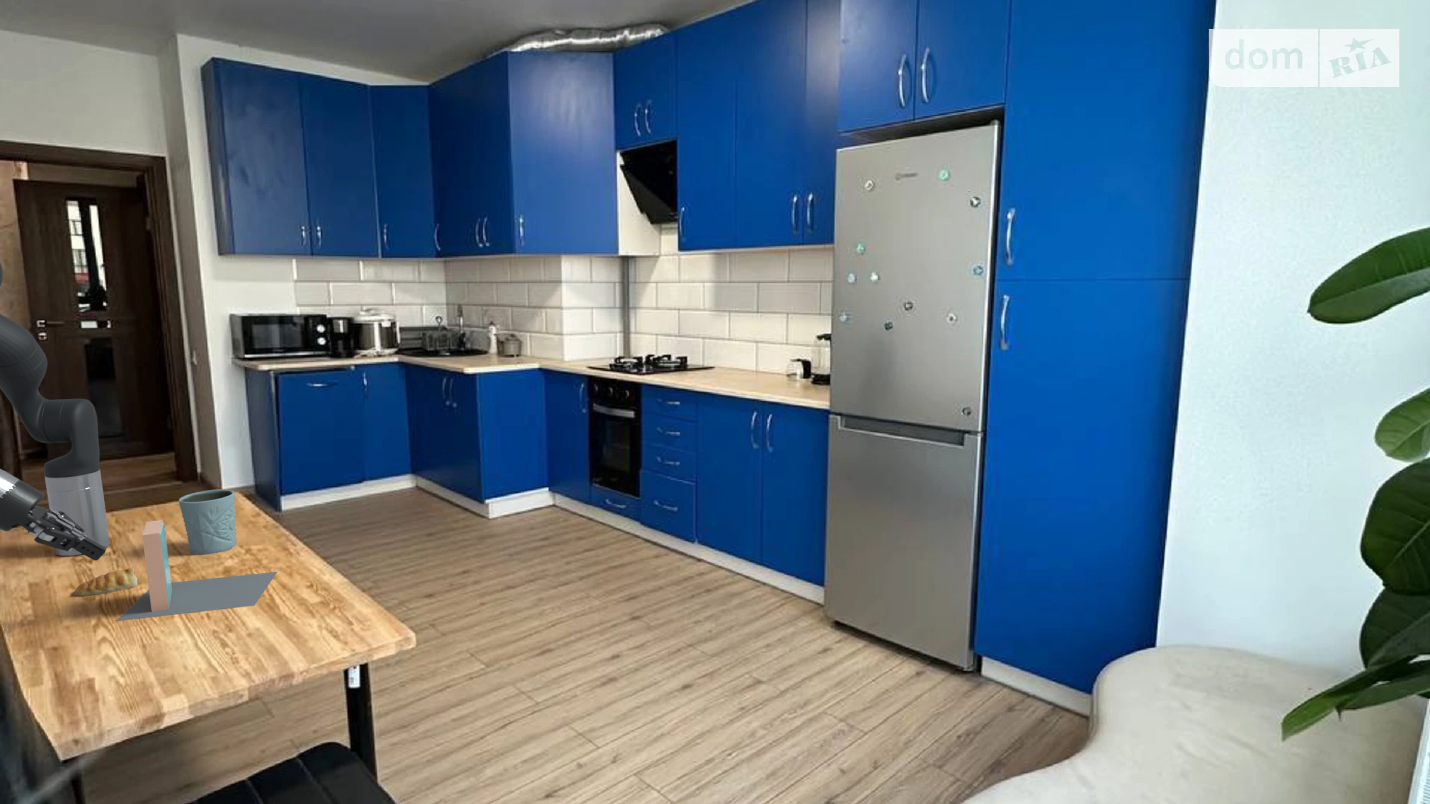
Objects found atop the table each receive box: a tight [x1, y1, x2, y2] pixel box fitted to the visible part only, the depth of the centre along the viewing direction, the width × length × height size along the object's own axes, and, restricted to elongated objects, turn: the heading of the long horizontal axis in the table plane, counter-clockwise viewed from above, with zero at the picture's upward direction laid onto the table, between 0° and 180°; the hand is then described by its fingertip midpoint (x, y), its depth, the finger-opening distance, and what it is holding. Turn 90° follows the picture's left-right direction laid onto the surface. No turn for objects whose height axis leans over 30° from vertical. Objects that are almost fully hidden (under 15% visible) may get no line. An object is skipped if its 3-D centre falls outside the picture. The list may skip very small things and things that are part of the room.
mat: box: [115, 571, 278, 622], centre depth 142 cm, size 17×21×1 cm
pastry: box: [74, 567, 138, 597], centre depth 145 cm, size 9×7×4 cm
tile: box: [141, 519, 172, 612], centre depth 138 cm, size 2×9×14 cm, turn 32°
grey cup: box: [178, 489, 237, 556], centre depth 168 cm, size 10×10×12 cm
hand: (101, 555), depth 133 cm, fingers closed
